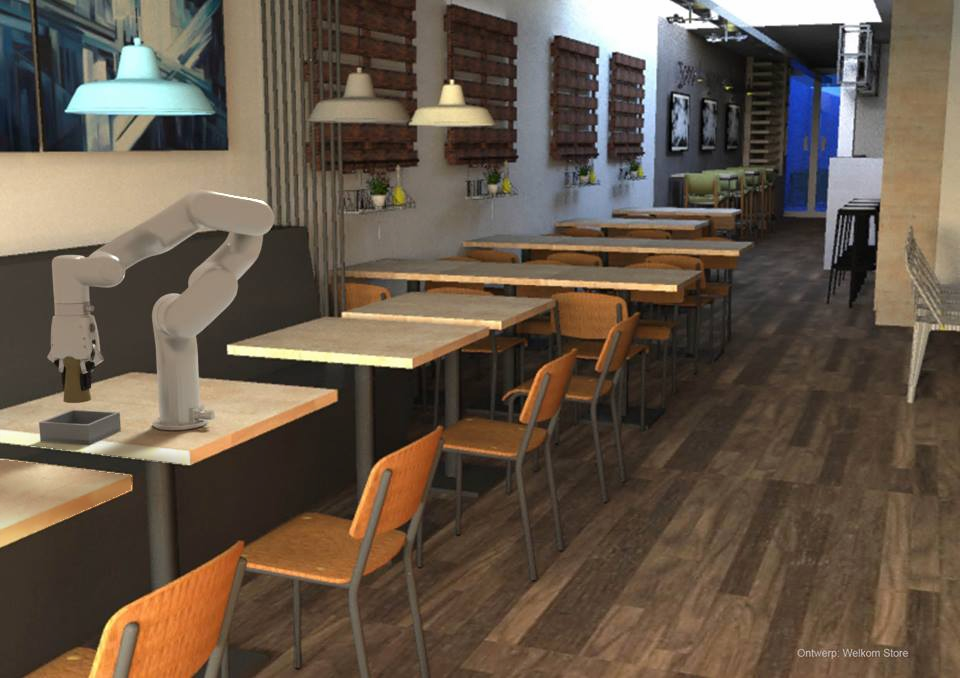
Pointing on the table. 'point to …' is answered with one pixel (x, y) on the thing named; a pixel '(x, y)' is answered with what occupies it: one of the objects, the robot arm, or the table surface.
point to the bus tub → (80, 427)
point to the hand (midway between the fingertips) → (77, 388)
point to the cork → (74, 382)
